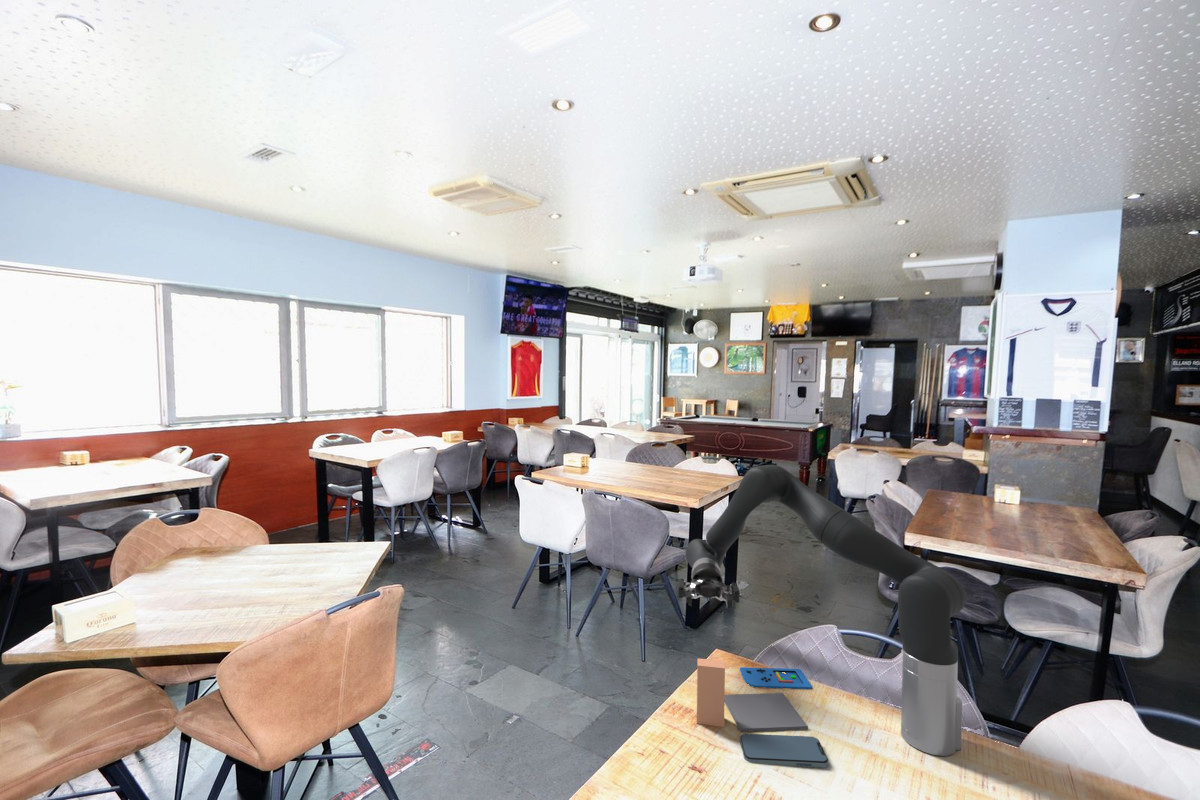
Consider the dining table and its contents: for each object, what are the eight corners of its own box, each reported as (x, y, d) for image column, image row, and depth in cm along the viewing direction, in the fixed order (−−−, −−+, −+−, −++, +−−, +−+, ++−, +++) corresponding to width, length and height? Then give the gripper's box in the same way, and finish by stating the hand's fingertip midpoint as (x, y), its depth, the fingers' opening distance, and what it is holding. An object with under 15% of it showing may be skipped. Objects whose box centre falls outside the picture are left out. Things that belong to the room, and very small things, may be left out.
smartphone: (738, 731, 106) (817, 735, 104) (739, 740, 106) (817, 744, 104) (744, 758, 98) (829, 762, 97) (745, 767, 98) (829, 771, 97)
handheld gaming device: (739, 665, 131) (800, 667, 131) (739, 670, 131) (800, 672, 131) (747, 684, 123) (813, 685, 123) (747, 688, 123) (813, 690, 123)
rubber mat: (783, 695, 120) (783, 692, 120) (807, 729, 108) (807, 726, 108) (722, 697, 119) (722, 694, 119) (740, 731, 107) (740, 728, 107)
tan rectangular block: (723, 717, 112) (724, 661, 111) (724, 726, 109) (724, 668, 108) (696, 714, 113) (697, 658, 112) (696, 723, 110) (697, 665, 109)
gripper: (678, 560, 137) (678, 584, 121) (735, 564, 135) (742, 589, 119) (678, 589, 138) (677, 616, 122) (734, 593, 135) (741, 622, 119)
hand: (709, 603), depth 120 cm, fingers open, 8 cm apart
